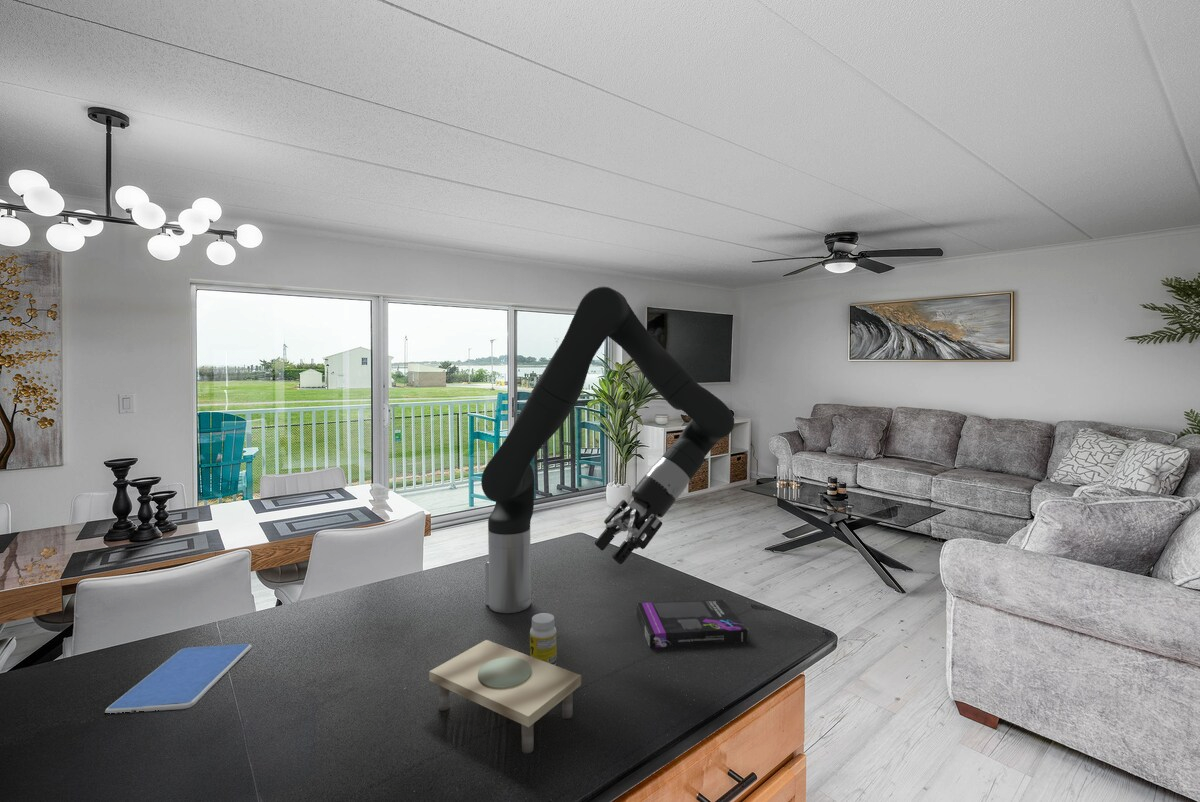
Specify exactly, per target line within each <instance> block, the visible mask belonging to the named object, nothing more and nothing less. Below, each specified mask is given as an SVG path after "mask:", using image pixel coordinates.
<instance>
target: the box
mask: <svg viewBox="0 0 1200 802" xmlns="http://www.w3.org/2000/svg"><path fill="white" fill-rule="evenodd" d="M636 617H637V620H638V622H639V624H640V626H641V630H642V632H643V634H644V636H645V638H646V641H647V644H648V646H649V649H650V648H651V649H654V648H670V647H671V648H672V647H686V646H687V647H688V645H689V646H700V645H701V646H703V645H705V646H706V645H720V644H721V645H722V644H736V643H735V642H740V643H748V642H749V628H748V627H746V626H745V625H744V623H743V622H742V621H741V620H740V618H739V617H738V616H737V615H736V613H735V612H734V611H733V609H732V608H731V607H730V606H729V605H728V603H727V602H726V600H725V599H706V600H705V599H703V600H681V601H680V600H677V601H675V600H674V601H655V602H654V601H653V602H652V601H651V602H637V603H636Z"/></svg>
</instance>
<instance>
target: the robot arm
mask: <svg viewBox="0 0 1200 802" xmlns="http://www.w3.org/2000/svg"><path fill="white" fill-rule="evenodd" d="M639 319H640V318H638V316H637V315H636V314H635V312H634V311H633V309H632V307H631V306H630V304H629V303H628V301H627V299H626V297H625V296H624V295H623V294H622V293H621V292H619V291H617V290H615V289H613V288H612V287H609V286H605V285H604V286H603V285H602V286H601V285H600V286H595V287H593V288H591V289H589V290H588V291H586V293H585V294H583V297H582V298H581V300H580V301H579V303H578V305H577V308H576V310H575V312H574V315H573V318H572V320H571V322H570V324H569V327H568V328H567V331H566V333H565V335H564V337H563V339H562V341H561V342H560V344H559V346H558V348H557V349H556V351H554V354H553V355H552V357H551V358H550V360H549V361H548V364H547V365H546V367H545V369H544V370H543V372H542V373H541V374H540V376H539V379H537V381H536V383H535V385H534V387H533V388H532V390H531V392H530V394H529V395H528V398H527V399H526V401H525V403H524V404H523V407H522V409H521V410H520V413H518V415H517V418H516V420H515V421H514V424H513V425H512V427H511V429H510V431H509V433H508V435H507V436H506V438H505V439H504V441H503V442H502V444H500V447H499V448H498V449H497V451H496V452H495V453H494V455H493V456H492V458H491V459H490V460H489V462H488V463H487V465H486V466H485V467H484V469H483V472H482V475H481V483H480V484H481V489H482V492H483V493H484V495H485V497H486V498H487V499H488V500H490V501H493V502H495V504H494V505H495V506H494V508H493V509H492V511H491V514H489V517H488V520H487V522H488V523H487V524H488V525H487V528H488V529H487V533H488V534H487V535H488V536H487V537H488V539H487V540H488V544H487V545H488V561H486V562H485V566H484V569H485V575H484V576H485V605H486V606H488V607H489V609H490V610H491V611H493V612H494V613H500V614H515V613H519V612H522V611H524V610H527V609H528V608H529V607H530V606H531V601H532V599H531V598H532V595H531V594H532V591H531V588H532V581H531V580H532V578H531V574H532V572H531V571H532V569H531V568H532V566H531V565H532V564H531V520H532V518H533V514H534V505H535V473H534V469H533V466H532V465H531V463H532V461H533V459H534V458H535V456H536V454H537V453H538V452H539V451H540V449H541V448H542V447H543V446H544V445H545V444H546V443H547V442H548V441H549V440H550V439H551V438H552V436H553V435H554V434H555V433H556V432H557V431H559V429H560V428H561V426H562V425H563V424H564V423H565V421H566V420H567V418H568V416H569V415H570V413H571V412H572V410H573V408H574V406H575V405H576V403H577V401H578V399H579V398H580V396H581V393H582V391H583V388H584V386H585V383H586V379H587V376H588V372H589V369H590V366H591V364H592V361H593V359H594V358H595V355H596V354H597V353H598V351H599V349H600V348H601V347H602V345H603V344H604V342H605V341H606V339H607V338H609V339H611V340H612V341H613V342H615V343H616V344H617V345H618V346H619V347H621V349H623V351H624V352H626V353H627V355H628V356H629V357H630V358H631V360H632V361H633V362H634V363H635V365H637V367H638V368H639V370H640V371H641V373H642V374H643V375H644V377H645V379H646V380H647V381H648V383H649V384H650V385H651V386H652V387H653V388H654V389H655V390H656V391H657V392H658V394H659V395H660V396H661V397H662V398H663V399H664V400H665V401H666V402H667V403H668V404H669V406H671V407H672V408H673V409H675V410H677V411H682V412H684V414H686V415H687V416H688V417H689V418H690V421H689V422H688V423H687V425H686V426H685V427H684V429H683V430H682V432H681V434H680V435H679V436H678V438H677V439H676V440H675V441H674V442H673V443H672V444H671V445H670V447H668V449H667V450H666V451H665V452H664V454H663V455H662V456H661V457H660V458H659V459H658V460H657V461H656V462H655V463H654V464H653V465H652V466H651V468H649V470H648V471H647V472H646V473H645V475H643V477H642V478H641V479H640V481H639V482H638V483H637V484H636V485H635V487H634V488H633V489H632V490H631V495H632V497H633V500H632V501H631V502H630V503H628V502H627V501H626V500H625V499H622V500H621V501H620V502H619V503H618V504H617V506H616V507H615V508H614V509H613V510H612V511H611V512H610V513H609V515H608V516H607V517H606V518H605V519H604V521H603V523H604V524H605V529H604V530H603V531H602V533H601V534H600V535H599V536H598V537H597V539H596V540H595V542H594V545H595V546H596V547H597V548H598V549H599V550H600V551H604V550H605V549H606V548H607V547H608V546H609V544H610V543H611V541H613V539H614V538H615V537H616V535H619V533H621V532H628V533H627V535H626V538H625V540H624V541H622V542H621V544H620V545H619V547H618V548H617V549H615V552H614V553H613V554H612V557H611V558H612V559H613V560H614V561H615V562H616V563H617V564H619V565H623V563H624V562H626V559H628V557H629V556H630V555H631V554H632V552H633V551H634V550H637V549H639V548H640V549H641V550H644V549H645V548H647V546H648V545H649V544H650V542H651V540H652V539H653V538H654V536H655V535H656V534H657V533H658V531H659V529H661V527H662V526H663V522H662V521H661V519H662V518H663V517H664V516H665V515H666V514H667V512H668V511H669V510H670V509H671V507H672V506H673V505H674V503H675V502H676V501H677V500H678V498H679V497H680V496H681V495H682V493H684V491H685V489H686V488H687V485H689V483H690V481H691V480H692V479H693V477H695V475H696V474H697V472H698V471H699V470H700V468H701V467H702V465H703V464H704V462H705V457H706V456H708V454H709V453H710V451H711V450H712V449H713V448H714V446H715V445H717V443H718V442H719V441H720V440H722V439H725V438H726V437H728V436H729V435H730V434H731V433H732V431H733V430H734V427H735V418H734V415H733V413H732V411H731V409H730V408H729V407H728V406H727V404H726V403H724V402H723V401H722V399H720V398H718V397H717V396H716V395H714V394H713V393H712V392H711V391H710V390H708V389H706V388H705V387H703V386H702V385H700V384H699V383H698V382H697V381H696V380H695V378H693V376H692V375H691V374H690V373H689V372H688V371H687V370H686V369H685V368H684V367H683V366H682V365H681V363H679V361H677V360H676V358H674V357H673V355H671V354H670V353H669V351H667V350H666V349H665V348H664V347H663V346H662V345H661V344H660V343H659V342H658V341H657V340H656V339H655V337H653V335H652V334H651V333H650V332H649V331H648V330H647V328H646V327H645V326H644V324H643V323H642V322H641V320H639ZM660 518H661V519H660Z"/></svg>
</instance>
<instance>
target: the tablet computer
mask: <svg viewBox="0 0 1200 802" xmlns="http://www.w3.org/2000/svg"><path fill="white" fill-rule="evenodd" d="M251 649H252V645H251V644H249V643H243V644H242V643H239V644H225V645H224V644H223V645H210V646H207V645H206V646H194V647H193V646H192V647H183V648H181V649H180V650H178V651H177V652H175V654H173V655H172V656H170V657H169V658H168V659H167V660H165V661H164V662H163V663H162V664H160V665H159V666H158V667H157V668H155V670H153V671H152V672H151V673H149V674H148V675H147V676H145V677H144V678H143V679H142V680H140V681H139V682H138V683H137V684H135V685H134V686H132V688H130V689H129V690H128V691H126V692H125V693H124V694H122V696H120V697H118V698H117V700H115V701H114V702H112V704H110V705H109V706H108V707H107V708H106V709H105V711H104V713H110V714H109V715H111V713H115V714H126V713H125V712H130V713H140V712H139V711H144V712H153V711H154V712H155V710H156V712H157V711H158V710H159V711H170V710H172V711H173V710H186V709H189V708H191V707H194V706H195V704H197V703H198V702H199V701H200V700H201V699H202V698H203V697H204V696H205V694H207V692H208V691H210V689H211V688H212V687H213V686H214V685H215V684H216V683H217V682H218V681H219V680H221V679H222V677H223V676H224V675H225V674H226V673H227V672H229V671H230V670H231V668H233V666H235V664H237V663H238V662H239V660H241V659H242V658H243V657H244V656H245V655H246V654H247V653H248V652H249V651H250V650H251ZM134 711H136V712H134ZM122 712H124V713H122Z"/></svg>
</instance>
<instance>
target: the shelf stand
mask: <svg viewBox="0 0 1200 802" xmlns="http://www.w3.org/2000/svg"><path fill="white" fill-rule="evenodd" d="M428 675H429V678H428V679H429V682H432V683H433V684H436V685H437V687H438V710H439V711H442V712H443V711H447V710H449V709H450V707H451V706H450V704H451V703H450V692H452V693H455V694H457V695H459V696H461V697H463V698H464V699H468V700H469V701H471V702H473V703H475V704H477V705H481V706H482V707H484V708H486V709H488V710H490V711H493V712H494V713H497V714H500V715H501V716H503V717H505V718H507V719H510V720H511V721H514V722H515V723H519V724H520V725H521V751H522V753H523V754H531V753H533V751H534V748H535V746H534V745H535V744H534V743H535V742H534V741H535V740H534V737H535V736H534V724H535V723H536V722H537V721H538V720H540V719H541V718H542V717H543V716H545V715H546V714H547V713H548V712H550V711H551V710H552V709H553V708H554V707H556V706H557V705H558V704H559V703H561V717H562V719H566V720H567V719H571V718H572V717H573V713H574V712H573V711H574V710H573V707H574V706H573V698H574V697H573V692H575V691H576V690H577V688H579V687H581V686H582V674H579V673H577V672H573V671H570V670H568V669H565V668H563V667H560V666H558V665H552V664H550V663H547V662H544V661H542V660H539V659H536V658H534V657H531V656H530V655H528V654H525V653H523V652H520V651H518V650H515V649H512V648H509V647H507V646H505V645H501V644H499V643H497V642H496V643H495V642H494V641H491V640H489V639H485V640H483V641H481V642H479V643H478V644H476V645H474V646H473V647H471V648H468V649H467V650H465V651H464V652H462V653H460V654H458V655H456V656H454V657H452V658H450V659H449V660H447V661H446V662H443V663H442V664H440V665H438V666H437V667H434V668H433V669H431V670H429V672H428Z"/></svg>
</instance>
